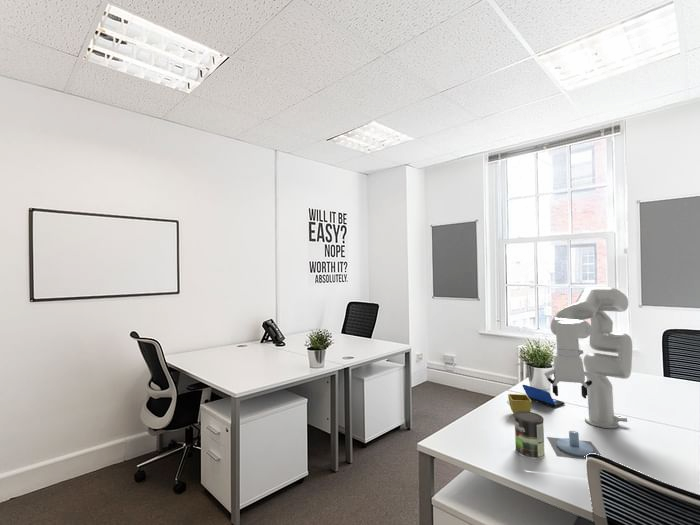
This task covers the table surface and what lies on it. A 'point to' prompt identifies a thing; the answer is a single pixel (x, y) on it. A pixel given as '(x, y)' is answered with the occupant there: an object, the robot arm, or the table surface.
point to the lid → (574, 445)
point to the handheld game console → (541, 397)
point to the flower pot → (519, 403)
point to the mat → (563, 454)
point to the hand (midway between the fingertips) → (569, 396)
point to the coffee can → (529, 434)
